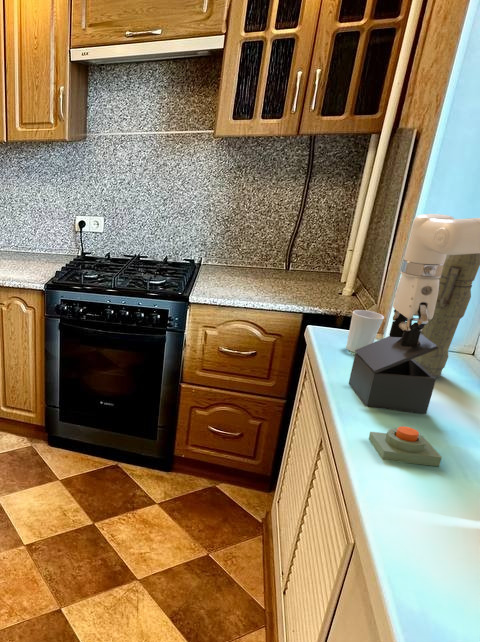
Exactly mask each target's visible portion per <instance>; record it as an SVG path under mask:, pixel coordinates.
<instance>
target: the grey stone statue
mask: <svg viewBox="0 0 480 642" xmlns="http://www.w3.org/2000/svg"><path fill="white" fill-rule="evenodd" d="M479 268H480V253H476V254H462V255H447V256H446V260H445V263H444V267H443V270H442V274H441V277H440V278H439V290H438V297H437V302H436V306H435V311H434V315H433V318H432V319H431V320H428V324H427V325H425V326H424V328H422V332H420V334H422V335H423V336H425V337H426V338H427V339H429V340H430V341H431V342H433V343H434V344H435V345H437V346H438V348H439V349H437V350H434V351H432V352H429V353H426V354H424V355H421V356H419V357H416V358H414V360H415V361H416V362H417V363H419V364H420V365H421V366H422V367H423V368H424V369H426V370H427V371H428V372H429V373H430V374H431V375H433V376H434V377H435V378H440V377H441V375H442V372H443V370H444V368H446V365H447V361H448V360H449V349H450V347H451V344H452V342H453V339H454V336H455V333H456V331H457V328H458V325H459V324H460V321H461V319H463V317H464V316H465V314H466V311H467V309H468V306H469V304H470V301H471V298H472V287H473V282H474V281H475V279H476V277H477V273H478V271H479Z"/></svg>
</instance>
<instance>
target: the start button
mask: <svg viewBox="0 0 480 642" xmlns="http://www.w3.org/2000/svg"><path fill="white" fill-rule="evenodd" d="M396 428H397V432H396V437H398V438H400V439H402V440H405V441H410V442H416V441H417V439H418V435H420V432H419V431H418V430H417V429H415V428H412V427H410V426H398V427H396Z"/></svg>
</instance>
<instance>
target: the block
mask: <svg viewBox="0 0 480 642" xmlns="http://www.w3.org/2000/svg"><path fill="white" fill-rule="evenodd" d="M397 428H398V427H395V428H389V429H388V430H387V432H380V431H379V432H377V431H370V432H369V435H368V440H369V442H370V443H371V444H372V446H373V447H374V449H375V451H376V452H377V453H378V455H379V456H380V458H381V459H382V460H385V461H393V462H397V463H398V462H399V463H403V464H413V465H423V466H431V467H440V465H441V462H442V458H443V457H442V456H441V455H440V454H439V452H438V451H437V450H436V449H435V448H434V446H432V445H431V443H430V442H429V441H428V440H427V439H426V438H425V437H424V436H423V435H421V434H419V435H418V439H417V441H416V442H410V441H405V440H402V439H400V438H398V437H396V432H397Z"/></svg>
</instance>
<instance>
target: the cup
mask: <svg viewBox="0 0 480 642" xmlns="http://www.w3.org/2000/svg"><path fill="white" fill-rule="evenodd" d="M384 319H385V316H384V315H383V314H381V313H379V312H375V311H372V310H367V309H355V310H353V311H352V314H351V319H350V325H349V331H348V335H347V340H346V345H345V348H346V350H348V351H350V352H353V353H356V351H355V350H357V349H359V348H362V347H364V346H367V345H369V344H371V343H374V342H375V340H376V338H377V335H378V333H379V330H380V327H381V326H382V323H383V321H384Z"/></svg>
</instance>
